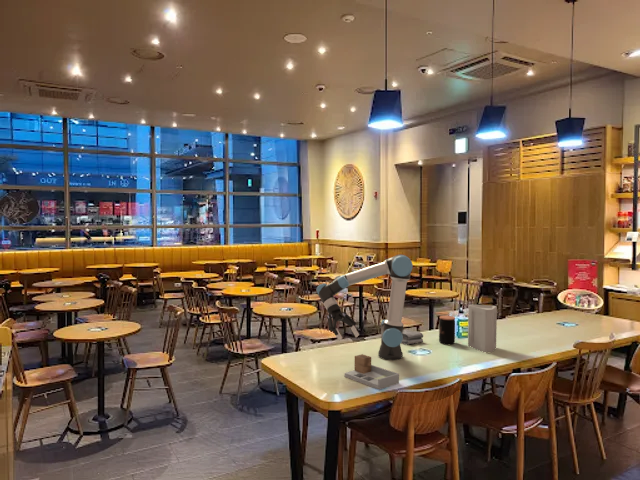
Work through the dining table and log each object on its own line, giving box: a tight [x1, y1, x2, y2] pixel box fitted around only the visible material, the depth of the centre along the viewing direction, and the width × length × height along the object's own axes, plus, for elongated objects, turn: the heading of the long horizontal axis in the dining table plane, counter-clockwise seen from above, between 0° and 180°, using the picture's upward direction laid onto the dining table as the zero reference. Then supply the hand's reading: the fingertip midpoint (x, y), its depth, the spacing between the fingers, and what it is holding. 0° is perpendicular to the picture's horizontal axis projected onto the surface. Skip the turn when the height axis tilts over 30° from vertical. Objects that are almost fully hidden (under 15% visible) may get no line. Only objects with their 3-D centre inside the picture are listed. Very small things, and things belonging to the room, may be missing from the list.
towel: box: [401, 329, 424, 345], centre depth 328 cm, size 15×18×8 cm
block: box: [354, 353, 372, 374], centre depth 255 cm, size 6×7×8 cm
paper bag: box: [467, 304, 498, 353], centre depth 309 cm, size 19×15×28 cm
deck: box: [344, 364, 400, 390], centre depth 246 cm, size 15×26×5 cm, turn 39°
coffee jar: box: [438, 315, 456, 345], centre depth 323 cm, size 11×11×18 cm
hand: (349, 337), depth 263 cm, fingers open, 13 cm apart
